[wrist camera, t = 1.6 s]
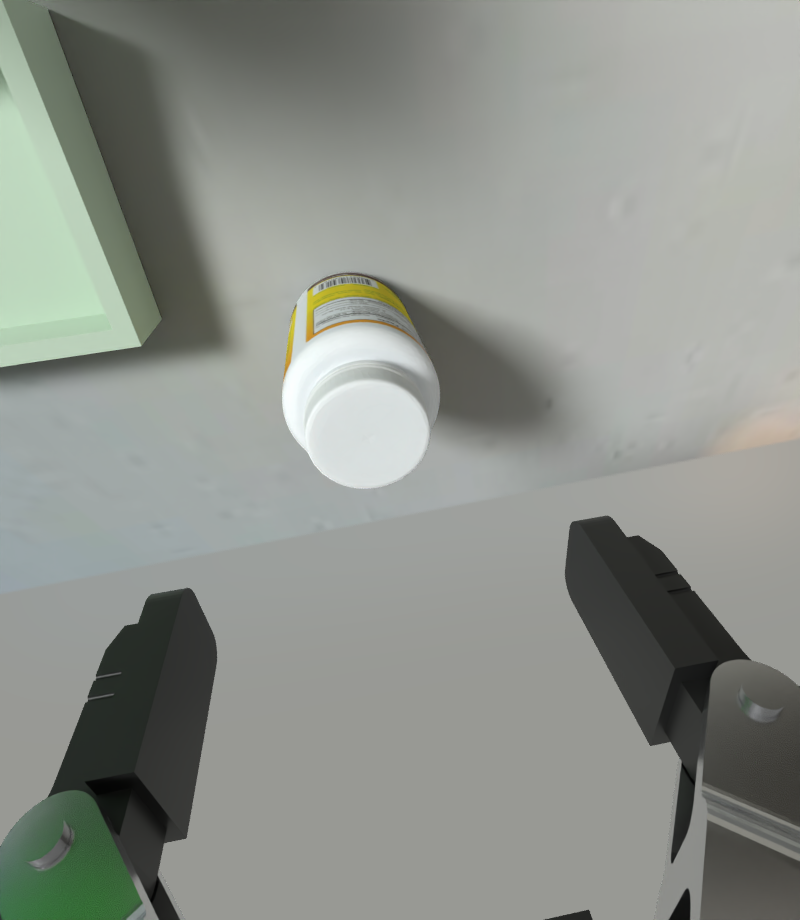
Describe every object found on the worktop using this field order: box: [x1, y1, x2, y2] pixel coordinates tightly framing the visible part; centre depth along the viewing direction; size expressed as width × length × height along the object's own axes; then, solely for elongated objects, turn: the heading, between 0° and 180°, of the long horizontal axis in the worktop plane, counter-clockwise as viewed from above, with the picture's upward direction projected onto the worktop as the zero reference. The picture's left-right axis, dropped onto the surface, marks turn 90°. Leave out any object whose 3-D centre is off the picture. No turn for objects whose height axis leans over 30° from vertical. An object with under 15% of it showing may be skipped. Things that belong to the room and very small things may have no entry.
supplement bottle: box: [282, 272, 440, 489], centre depth 20 cm, size 6×6×10 cm
